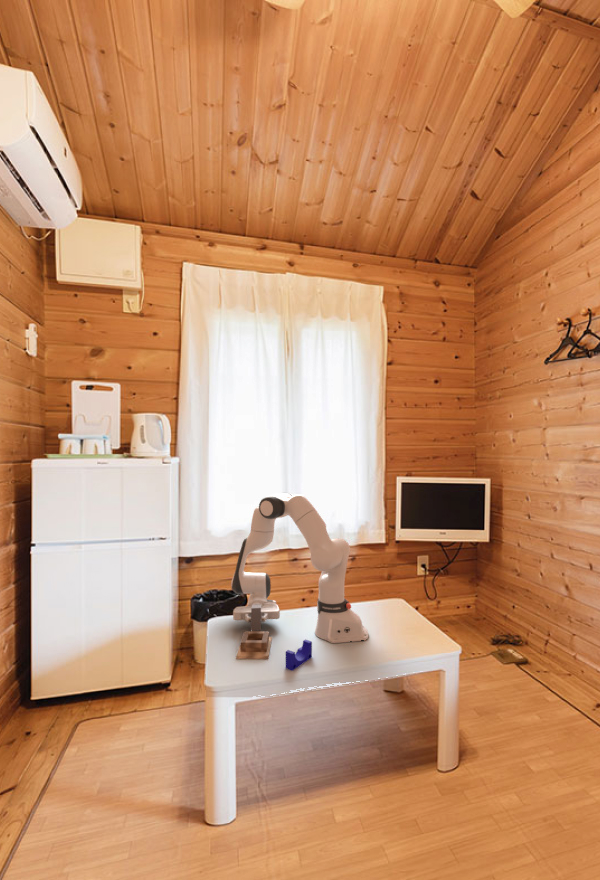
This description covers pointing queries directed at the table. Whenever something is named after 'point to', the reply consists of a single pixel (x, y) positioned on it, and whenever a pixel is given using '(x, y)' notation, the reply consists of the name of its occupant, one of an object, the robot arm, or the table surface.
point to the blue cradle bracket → (299, 655)
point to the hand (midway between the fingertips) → (256, 620)
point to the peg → (256, 618)
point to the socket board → (252, 654)
